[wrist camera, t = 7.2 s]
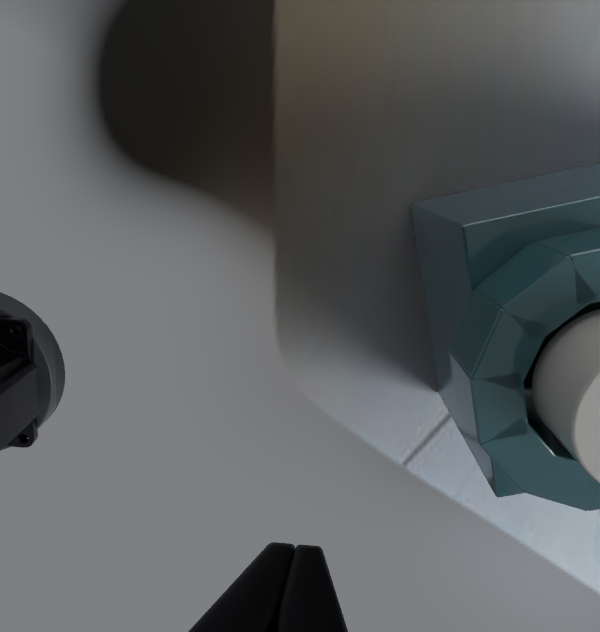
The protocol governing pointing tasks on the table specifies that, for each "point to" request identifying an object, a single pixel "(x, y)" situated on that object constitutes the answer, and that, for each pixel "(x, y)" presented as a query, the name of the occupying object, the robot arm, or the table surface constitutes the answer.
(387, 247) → the table surface
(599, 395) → the white push button
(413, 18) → the table surface
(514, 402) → the dispenser
